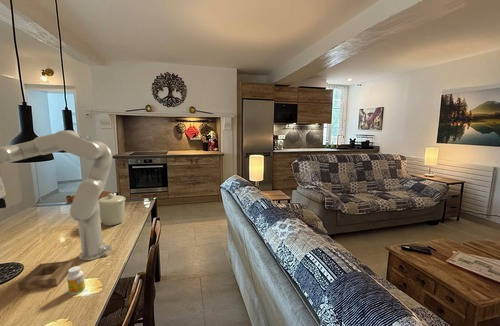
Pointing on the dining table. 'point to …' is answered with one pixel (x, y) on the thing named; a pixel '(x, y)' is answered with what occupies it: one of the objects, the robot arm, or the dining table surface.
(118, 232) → the dining table surface
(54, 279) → the socket block
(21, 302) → the dining table surface
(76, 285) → the supplement bottle
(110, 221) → the canister
